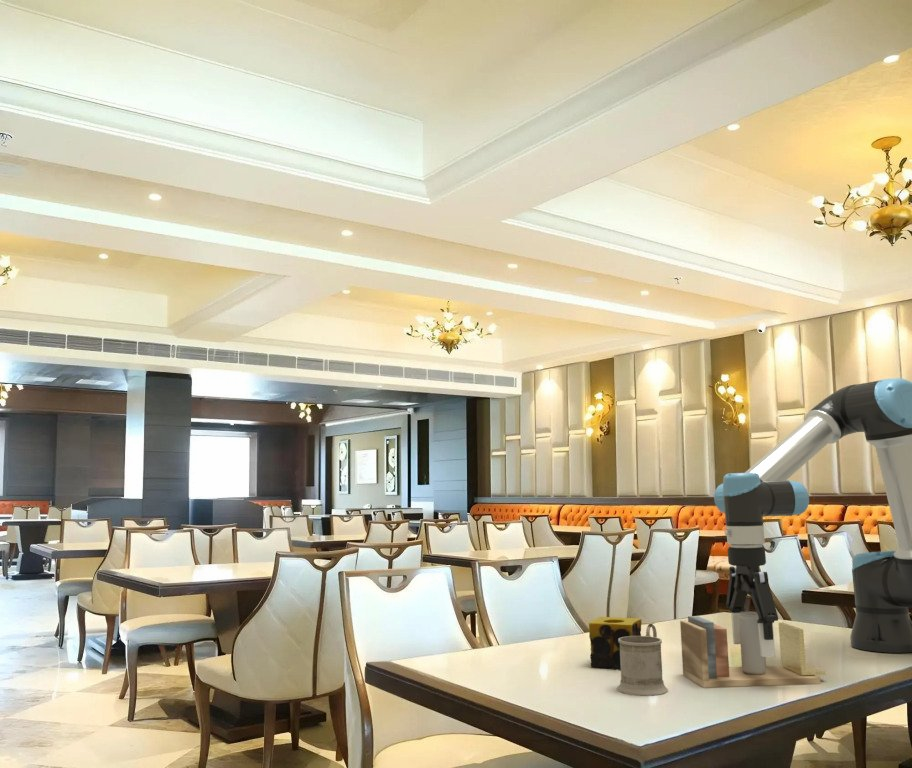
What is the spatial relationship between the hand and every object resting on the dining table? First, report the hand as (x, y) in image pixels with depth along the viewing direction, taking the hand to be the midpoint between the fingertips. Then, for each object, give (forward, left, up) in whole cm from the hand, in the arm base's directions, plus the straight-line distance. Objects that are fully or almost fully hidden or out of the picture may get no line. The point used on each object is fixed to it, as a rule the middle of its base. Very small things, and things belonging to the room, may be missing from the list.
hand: (753, 649), depth 171 cm
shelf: (+1, 0, -6) cm, 6 cm away
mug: (+24, +4, -6) cm, 25 cm away
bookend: (-10, 0, -4) cm, 11 cm away
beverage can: (0, 0, -5) cm, 5 cm away
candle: (+24, -18, -6) cm, 31 cm away
